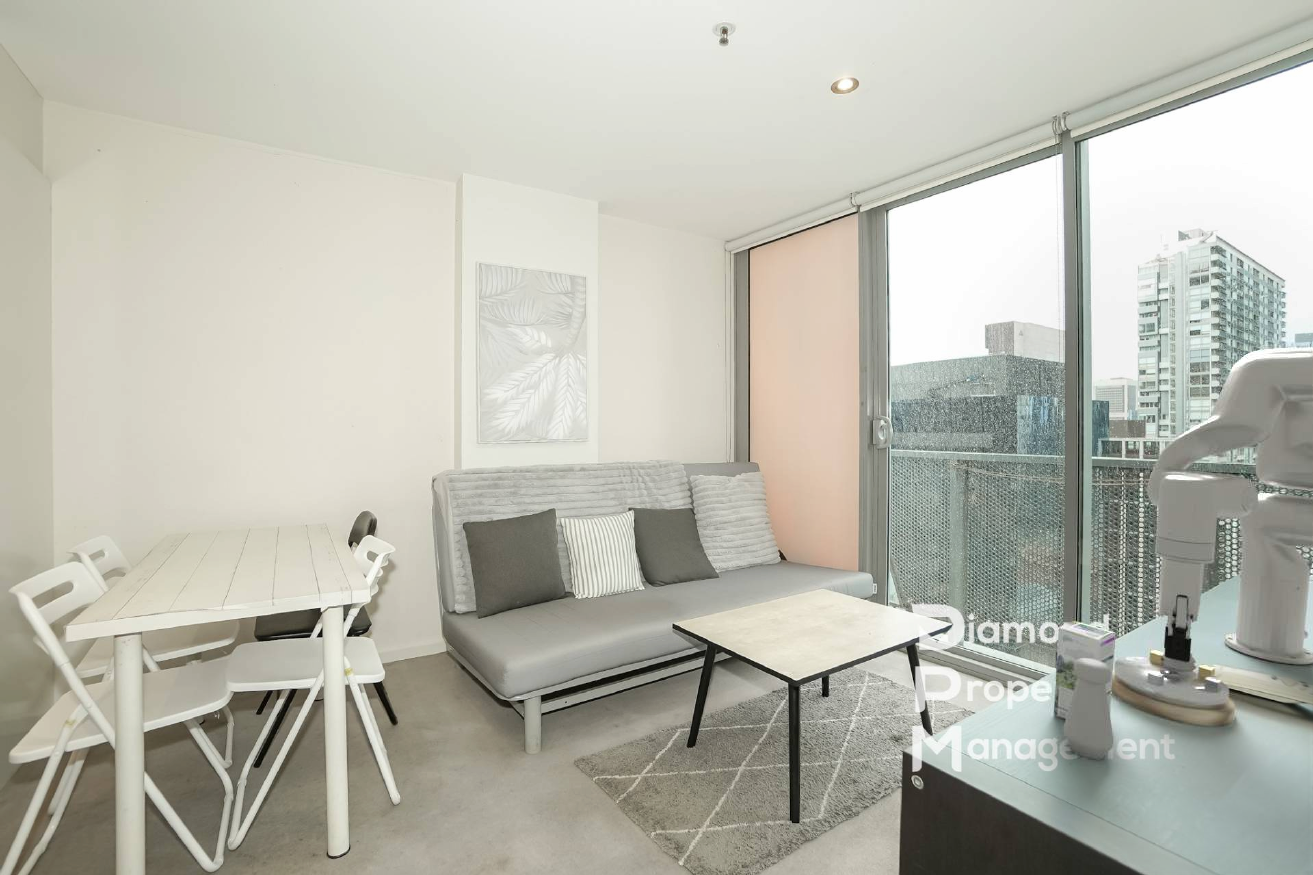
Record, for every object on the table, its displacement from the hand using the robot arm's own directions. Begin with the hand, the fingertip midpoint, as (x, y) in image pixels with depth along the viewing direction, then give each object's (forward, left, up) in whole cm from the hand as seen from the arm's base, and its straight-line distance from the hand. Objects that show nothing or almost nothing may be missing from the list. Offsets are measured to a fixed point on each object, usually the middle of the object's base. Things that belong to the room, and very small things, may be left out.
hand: (1176, 654), depth 103 cm
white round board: (+4, +1, -4) cm, 6 cm away
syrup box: (+24, +1, -7) cm, 25 cm away
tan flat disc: (+4, +2, -7) cm, 8 cm away
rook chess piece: (0, 0, -2) cm, 2 cm away
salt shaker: (+32, +7, -7) cm, 34 cm away
